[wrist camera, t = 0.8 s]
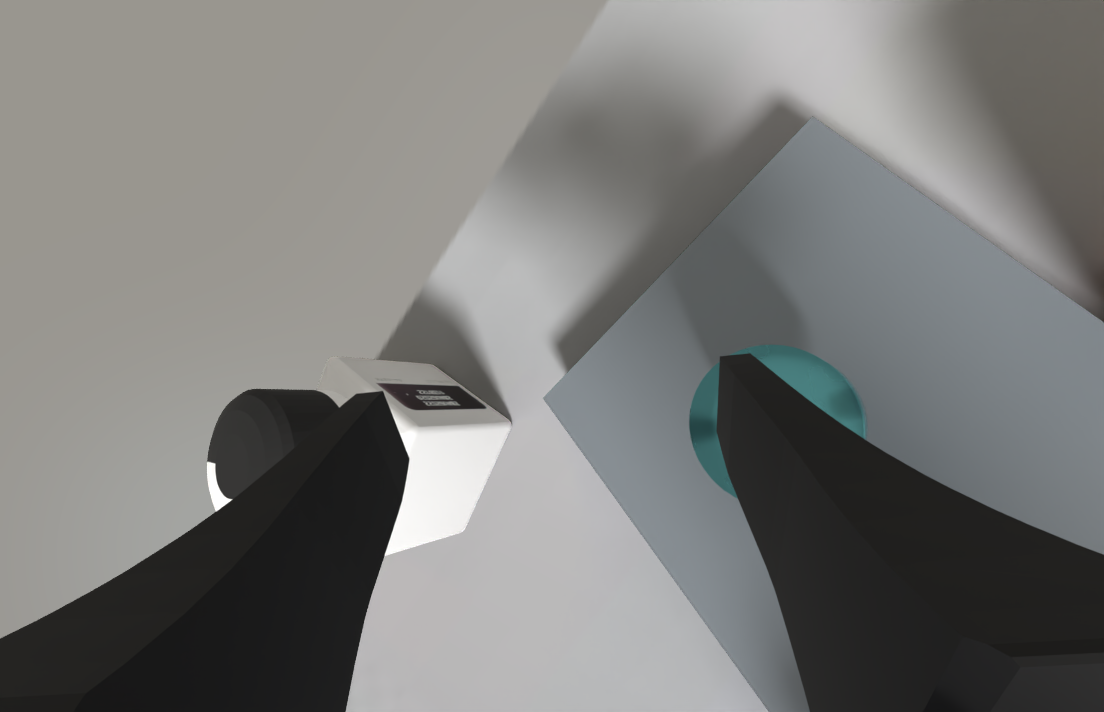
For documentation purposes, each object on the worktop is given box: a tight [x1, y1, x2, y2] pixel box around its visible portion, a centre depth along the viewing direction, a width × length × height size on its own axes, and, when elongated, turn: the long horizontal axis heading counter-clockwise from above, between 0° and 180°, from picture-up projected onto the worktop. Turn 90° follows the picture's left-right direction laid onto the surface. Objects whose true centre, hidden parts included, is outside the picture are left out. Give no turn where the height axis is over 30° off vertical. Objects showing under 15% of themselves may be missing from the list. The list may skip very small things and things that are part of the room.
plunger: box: [689, 345, 868, 499], centre depth 17 cm, size 4×4×6 cm
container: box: [207, 356, 512, 556], centre depth 28 cm, size 8×8×13 cm
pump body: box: [543, 117, 1104, 712], centre depth 21 cm, size 16×16×4 cm
